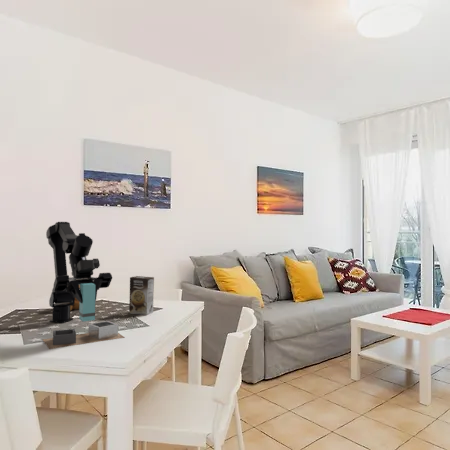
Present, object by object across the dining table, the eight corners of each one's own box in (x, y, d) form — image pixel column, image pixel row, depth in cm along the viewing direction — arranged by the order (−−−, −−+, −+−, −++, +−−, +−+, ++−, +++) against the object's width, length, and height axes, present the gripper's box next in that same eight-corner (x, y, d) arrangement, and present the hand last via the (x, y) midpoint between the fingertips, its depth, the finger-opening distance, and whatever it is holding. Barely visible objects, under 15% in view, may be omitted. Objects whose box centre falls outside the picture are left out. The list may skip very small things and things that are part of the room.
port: (88, 335, 136) (88, 324, 136) (107, 331, 142) (107, 320, 142) (98, 339, 131) (98, 327, 131) (117, 335, 137) (118, 324, 137)
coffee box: (128, 313, 174) (129, 277, 174) (136, 310, 180) (136, 275, 180) (147, 315, 171) (147, 278, 171) (153, 312, 177) (154, 276, 178)
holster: (52, 339, 131) (53, 330, 131) (74, 337, 134) (74, 328, 134) (53, 345, 125) (53, 335, 125) (75, 343, 128) (76, 333, 128)
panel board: (49, 351, 121) (49, 349, 121) (42, 341, 131) (42, 339, 131) (124, 339, 135) (124, 337, 135) (113, 331, 145) (113, 329, 145)
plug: (78, 319, 133) (79, 283, 133) (91, 317, 136) (91, 282, 136) (82, 321, 130) (83, 285, 130) (95, 320, 132) (95, 284, 132)
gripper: (56, 251, 130) (64, 289, 122) (110, 250, 141) (122, 284, 133) (50, 272, 137) (57, 310, 128) (103, 269, 148) (113, 304, 139)
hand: (88, 301), depth 132 cm, fingers closed on plug, 4 cm apart
